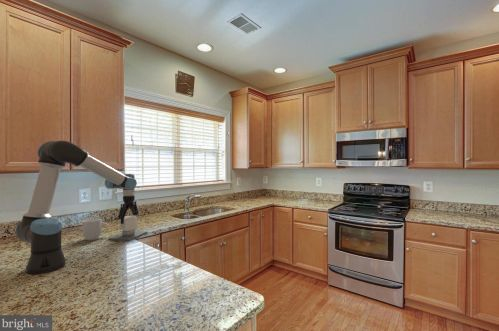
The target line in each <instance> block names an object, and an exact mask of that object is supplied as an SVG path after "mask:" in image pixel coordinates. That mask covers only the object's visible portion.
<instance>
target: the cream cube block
mask: <svg viewBox="0 0 499 331" xmlns="http://www.w3.org/2000/svg"><path fill="white" fill-rule="evenodd" d="M124 219H125V228H121V219H119V230H121V231H122V230H123V231H129V230H134V229H135V230H138V216H137V215H136V216H132V215H125V218H124Z"/></svg>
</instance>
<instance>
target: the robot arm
mask: <svg viewBox="0 0 499 331" xmlns="http://www.w3.org/2000/svg"><path fill="white" fill-rule="evenodd" d="M37 156H38V158H39V159H38V162H37V164H38V165H39V166H40V168H39V173H38V176H37V178H36V182H35V186H34V189H33V194H32V196H31V201H30V204H29V208H28V211H27V212H26V213H24V214H22V218H21V221H19V223H18V224H16V227H15V232H14V233H15V235H16V237H17V238H18V239H19V240H20V241H22V242H25V243H28V244H30V255H29V257H28V258H29V259H28V261H27V264H26V265H25V273H26V274H29V275H38V274H40V275H41V274H45V273H46V274H47V273H50V272H54V271H56V270H57V271H58V270H60V269H61V268H63V267H65V266H66V264H67V263H66V262H67V261H66V257H65V255H64V252H63V250H62V231H63V230H62V228H63V225H62V221H61V220H60V219H59V218H54V217H52V215H51V214H50V212H51V211H50V210H51V207H52V204H53V200H54V196H55V192H56V188H57V184H58V181H59V178H60V173H61V170H62V169H65V168H66V163H67V164H70V165H73V166H75V167H81V168H83V169H85V170H87V171H89V172H91V173H93V174H95V175H97V176H99V177H101V178H103V179H105V180H104V186H105V188H106V189H108V190H109V189H110V190H113V189H119V190H122V201H123V202H124V203H121V204H120V208H119V212H118V217H117V219H119V220H120V219H121V228H125V219H124V218H125V216H127V215H126V214H127V213H128V211H129V210H130V212H131V213H132V215H131V216H136V217H137V216H138V215H139V210H138V206H137V201H135V199H136V197H135V196H136V195H135V191H136V190H135V188H136V187H137V185H138V182H137V180H136V178H135V174H134V173H121V171H118V170H116V169H115V168H113V167H111V166H110V165H108V164H106V163H104V162H102V161H101V160H99V159H97V158H95V157H93V156H92V155H90V154H89V152H88V151H87V150H85V149H83V148H82V147H80V146H78V145H76V144H74V143H73V142H71V141H67V140H52V141H51V140H50V141H47V142H44V143H42V144H40V145H39V147H38V148H37Z"/></svg>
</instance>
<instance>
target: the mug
mask: <svg viewBox="0 0 499 331" xmlns="http://www.w3.org/2000/svg"><path fill="white" fill-rule="evenodd" d="M102 220H103V219H102V218H87V219H84V220H82V234H83V237H84V239H85V240H86V241H90V242H91V241H96V240H98V239H99V238H100V236H103V235H104V234H106V233H107V232H108V231H109V225H108V223H106V222H103V221H102ZM103 225H105V226H106V229H105V231H104V232H102V229H103Z"/></svg>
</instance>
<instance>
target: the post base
mask: <svg viewBox="0 0 499 331" xmlns="http://www.w3.org/2000/svg"><path fill="white" fill-rule="evenodd" d="M121 231H122V232H121V233H117V234H116V235H113V236H109V237H108V238H107V239H108V241H109V240H110V241H116V242H117V241H121V242H131V241H134V240H135V239H137V238H140V237H142V236H144V235H147V234H148V231H146V230H145V231H144V230H136V229H134V230H129V231H123V230H121Z"/></svg>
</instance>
